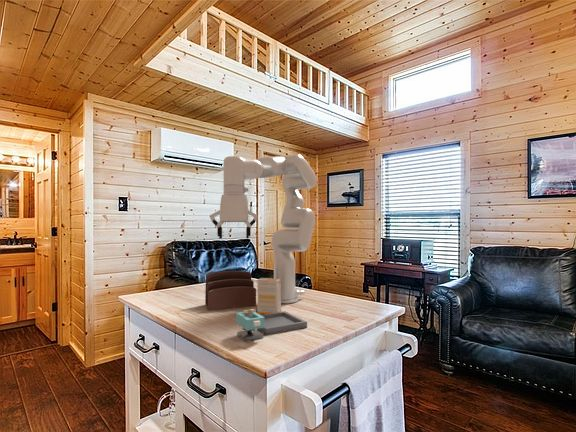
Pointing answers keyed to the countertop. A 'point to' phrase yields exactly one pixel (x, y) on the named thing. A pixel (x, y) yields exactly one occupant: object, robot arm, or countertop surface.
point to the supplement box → (269, 295)
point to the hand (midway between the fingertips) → (234, 238)
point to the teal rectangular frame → (250, 321)
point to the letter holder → (229, 290)
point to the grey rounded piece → (249, 334)
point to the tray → (281, 323)
